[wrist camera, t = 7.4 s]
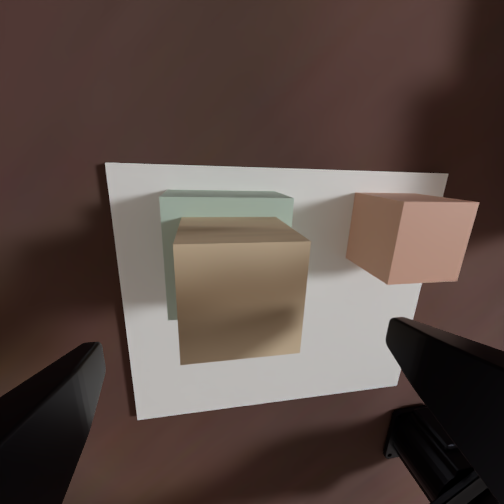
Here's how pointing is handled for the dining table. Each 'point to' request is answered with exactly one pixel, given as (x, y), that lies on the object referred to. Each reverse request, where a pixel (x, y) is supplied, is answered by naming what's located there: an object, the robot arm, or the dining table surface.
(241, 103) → the dining table surface
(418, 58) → the dining table surface
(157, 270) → the board
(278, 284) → the beech cube
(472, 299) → the dining table surface
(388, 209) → the terracotta cube
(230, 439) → the dining table surface
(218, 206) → the pedestal
